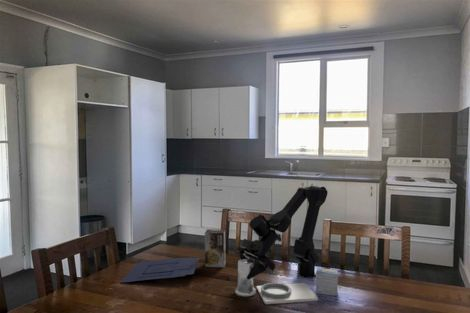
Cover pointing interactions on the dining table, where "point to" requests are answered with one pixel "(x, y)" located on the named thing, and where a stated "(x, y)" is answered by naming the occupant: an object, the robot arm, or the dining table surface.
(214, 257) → the coffee box
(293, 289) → the locating plate
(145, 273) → the papers
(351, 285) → the dining table surface
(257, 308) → the dining table surface
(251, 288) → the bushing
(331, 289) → the medicine box
